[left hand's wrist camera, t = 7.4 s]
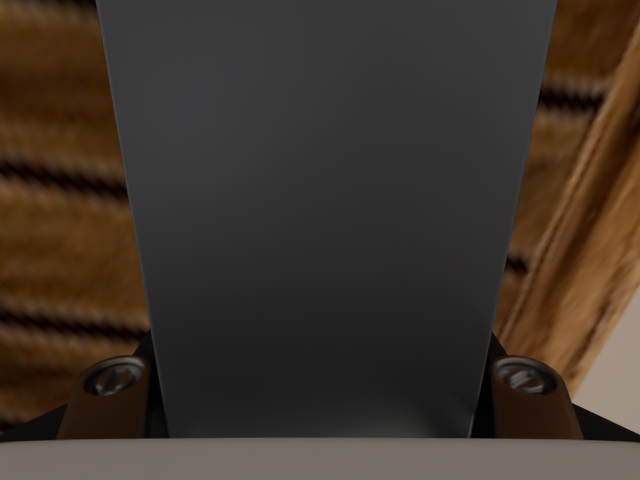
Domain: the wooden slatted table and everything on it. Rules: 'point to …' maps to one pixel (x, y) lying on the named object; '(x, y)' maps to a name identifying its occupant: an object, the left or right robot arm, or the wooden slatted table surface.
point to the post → (323, 203)
